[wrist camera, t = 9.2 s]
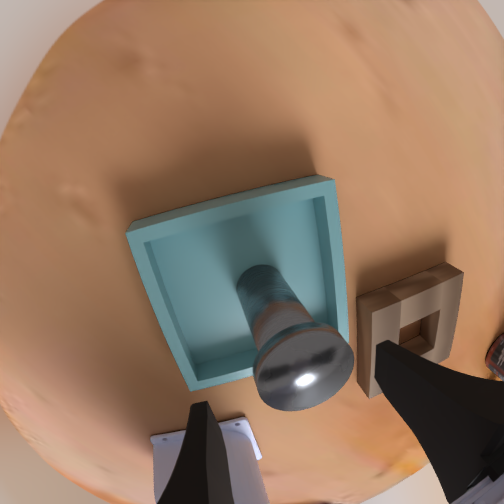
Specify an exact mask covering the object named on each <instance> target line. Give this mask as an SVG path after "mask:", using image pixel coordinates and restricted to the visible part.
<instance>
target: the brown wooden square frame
mask: <svg viewBox="0 0 504 504" xmlns="http://www.w3.org/2000/svg"><path fill="white" fill-rule="evenodd" d="M463 275H464V272H462V271H461V270H459V269H457V268H455V267H454V266H452V265H450V264H448V263H447V262H445V263H442V264H440V265H438V266H435V267H433V268H431V269H428V270H426V271H423V272H421V273H418V274H416V275H414V276H411V277H409V278H406V279H403V280H401V281H398V282H396V283H393V284H391V285H388V286H385V287H383V288H380V289H377V290H375V291H372V292H369V293H367V294H364V295H361V296H358V297H356V304H357V342H358V370H357V383H358V384H359V386H360V387H361V388H362V390H363V391H364V393H365V394H366V396H367V397H368V398H369V399H370V398H372V397H374V396H377V395H379V394H381V393H383V392H382V390H381V389H380V387H379V385H378V383H377V381H376V380H375V378H374V374H375V355H376V345H377V344H379V343H381V342H383V341H386V340H390V341H392V342H394V343H396V344H399V332H400V328H402V327H404V326H407V325H409V324H411V323H413V322H415V321H417V320H419V319H421V318H422V320H421V328H420V335H419V336H417V337H415V338H413V339H411V340H409V341H407V342H405V343H402V344H400V346H401V347H403V348H405V349H407V350H409V351H411V352H413V353H415V354H417V355H419V356H421V357H423V358H425V359H427V360H430V361H432V362H434V363H436V364H438V363H440V362H442V361H443V360H445V359H447V358H448V357H449V355H450V351H451V347H452V342H453V337H454V332H455V327H456V322H457V317H458V311H459V305H460V298H461V291H462V283H463Z"/></svg>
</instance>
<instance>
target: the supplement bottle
mask: <svg viewBox="0 0 504 504" xmlns="http://www.w3.org/2000/svg"><path fill="white" fill-rule="evenodd" d="M486 366H487V367H488V368H489V369H490V370H491V371H492V372H494V373H495V374H496V375H497V376H498V377H499V378H500V379H501V380H503V381H504V334H502V335H501V336H499V337H498V339H497V340H496V341H495V342H494V344H493V345H492V346H491V348H490V350H489V352H488V355H487V357H486Z"/></svg>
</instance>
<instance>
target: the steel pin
mask: <svg viewBox="0 0 504 504" xmlns="http://www.w3.org/2000/svg"><path fill="white" fill-rule="evenodd" d="M236 291H237V295H238V298H239V301H240V304H241V306H242V309H243V312H244V315H245V317H246V320H247V323H248V326H249V328H250V331H251V334H252V337H253V339H254V342H255V345H256V347H257V350H258V353H257V355H256V357H255V360H254V363H253V377H254V380H255V383H256V387H257V390H258V393H259V395H260V397H261V399H262V400H263V401H264V402H265V403H266V404H267V405H269V406H270V407H272V408H275V409H278V410H282V411H299V410H304V409H308V408H311V407H314V406H316V405H318V404H321V403H322V402H324V401H326V400H328V399H329V398H331V397H332V396H333V395H334V394H336V393H337V392H338V391H339V390H340V389H341V388H342V387H343V386H344V384H345V383H346V382H347V380H348V378H349V377H350V375H351V372H352V369H353V366H354V355H353V351H352V349H351V347H350V346H349V344H348V343H347V342H346V341H345V339H344V338H343V337H342V335H341V334H340V333H339V332H338V331H337V330H336V329H335V328H333V327H332V326H330V325H328V324H324V323H319V322H315V321H314V320H313V318H312V317H311V315H310V314H309V313H308V311H307V310H306V308H305V307H304V306H303V304H302V303H301V301H300V300H299V299H298V297H297V296H296V294H295V293H294V292H293V290H292V289H291V287H290V286H289V285H288V283H287V282H286V280H285V279H284V278H283V276H282V275H281V273H280V272H279V271H278V270H277V269H276V268H274V267H272V266H270V265H264V264H260V265H255V266H252V267H250V268H248V269H247V270H246V271H244V272H243V273H242V275H241V276H240V277H239V279H238V282H237V286H236Z"/></svg>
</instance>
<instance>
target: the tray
mask: <svg viewBox="0 0 504 504" xmlns="http://www.w3.org/2000/svg"><path fill="white" fill-rule="evenodd" d="M125 234H126V237H127V240H128V243H129V246H130V248H131V251H132V254H133V257H134V260H135V263H136V265H137V268H138V271H139V274H140V276H141V279H142V282H143V284H144V287H145V290H146V292H147V295H148V297H149V300H150V302H151V305H152V307H153V310H154V312H155V315H156V317H157V320H158V322H159V324H160V327H161V329H162V331H163V334H164V336H165V338H166V341H167V343H168V345H169V347H170V350H171V352H172V354H173V356H174V358H175V361H176V363H177V365H178V367H179V369H180V371H181V373H182V376H183V378H184V380H185V382H186V384H187V386H188V388H189V390H190V392H191V391H195V390H200V389H204V388H208V387H212V386H216V385H220V384H224V383H228V382H231V381H235V380H239V379H242V378H246V377H249V376H253V363H254V360H255V357H256V355H257V353H258V350H257V347H256V345H255V342H254V339H253V337H252V334H251V331H250V328H249V326H248V323H247V320H246V317H245V315H244V312H243V309H242V306H241V304H240V301H239V298H238V295H237V291H236V286H237V282H238V279H239V277H240V276H241V275H242V273H243V272H244V271H246V270H247V269H248V268H250V267H252V266H255V265H260V264H264V265H270V266H272V267H274V268H276V269H277V270H278V271H279V272H280V273H281V275H282V276H283V278H284V279H285V280H286V282H287V283H288V285H289V286H290V287H291V289H292V290H293V292H294V293H295V294H296V296H297V297H298V299H299V300H300V301H301V303H302V304H303V306H304V307H305V308H306V310H307V311H308V313H309V314H310V315H311V317H312V318H313V320H314V321H315V322H319V323H324V324H328V325H330V326H332V327H333V328H335V329H336V330H337V331H338V332H339V333H340V334H341V335H342V337H343V338H344V339H345V341H346V342H347V343H349V330H348V309H347V293H346V279H345V266H344V255H343V245H342V235H341V226H340V217H339V209H338V201H337V193H336V186H335V179H332V178H328V177H325V176H321V175H318V174H317V175H313V176H308V177H303V178H299V179H294V180H290V181H285V182H281V183H276V184H272V185H268V186H263V187H259V188H255V189H251V190H247V191H243V192H239V193H235V194H231V195H227V196H223V197H219V198H215V199H211V200H207V201H204V202H200V203H196V204H192V205H189V206H185V207H181V208H178V209H174V210H171V211H167V212H164V213H160V214H157V215H153V216H150V217H147V218H143V219H140V220H136V221H133V222H132V223H131V225H130V226H129V228H128V230H127V231H126V233H125Z"/></svg>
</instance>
